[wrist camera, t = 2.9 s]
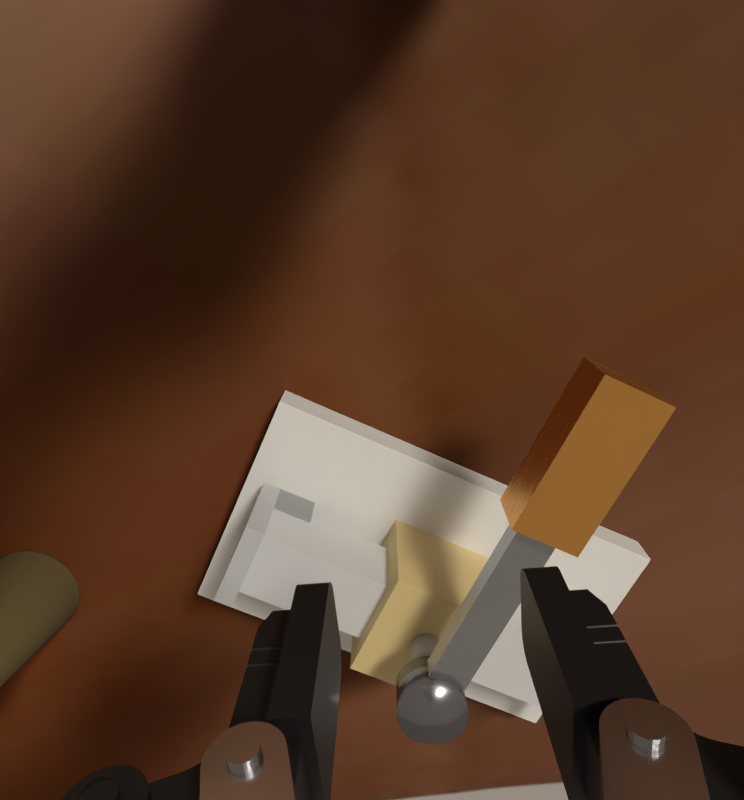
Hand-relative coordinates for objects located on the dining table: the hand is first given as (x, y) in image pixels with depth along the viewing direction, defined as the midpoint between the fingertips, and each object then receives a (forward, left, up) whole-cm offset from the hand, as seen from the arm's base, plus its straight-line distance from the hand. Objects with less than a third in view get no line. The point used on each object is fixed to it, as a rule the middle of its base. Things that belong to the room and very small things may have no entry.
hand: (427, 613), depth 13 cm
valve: (+7, -12, -23) cm, 27 cm away
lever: (+7, -4, -13) cm, 15 cm away
